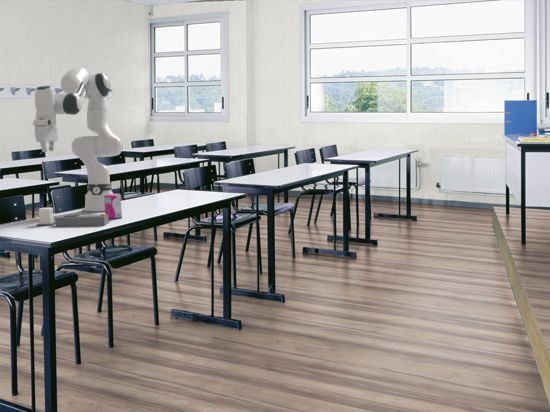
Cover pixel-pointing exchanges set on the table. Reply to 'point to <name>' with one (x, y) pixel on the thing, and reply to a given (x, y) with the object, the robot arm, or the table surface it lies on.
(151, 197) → the table surface
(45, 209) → the charger
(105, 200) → the supplement box
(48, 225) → the mat
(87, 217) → the grey flat block
